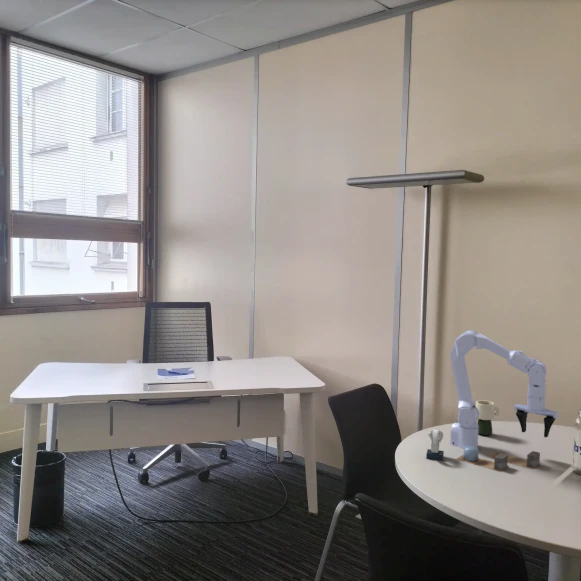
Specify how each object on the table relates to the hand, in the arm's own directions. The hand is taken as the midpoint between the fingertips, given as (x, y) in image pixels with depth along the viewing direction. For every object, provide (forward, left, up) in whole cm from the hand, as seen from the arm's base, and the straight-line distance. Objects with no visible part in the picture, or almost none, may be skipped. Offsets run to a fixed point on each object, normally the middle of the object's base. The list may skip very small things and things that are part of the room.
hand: (534, 434), depth 196 cm
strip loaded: (-11, -18, -9) cm, 23 cm away
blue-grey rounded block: (-15, -18, -8) cm, 25 cm away
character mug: (-25, +15, -10) cm, 31 cm away
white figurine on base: (-25, -25, -10) cm, 37 cm away
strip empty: (-4, -8, -9) cm, 13 cm away
